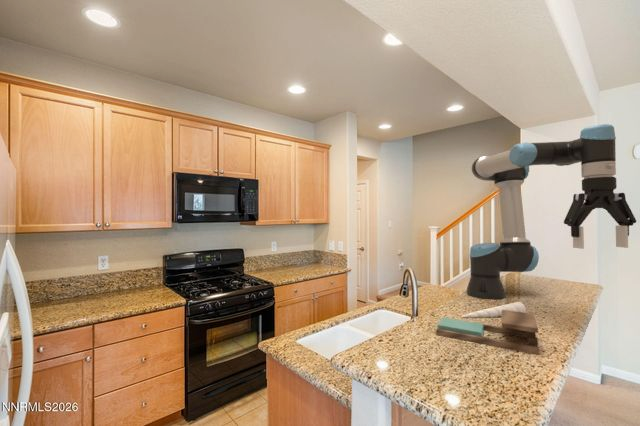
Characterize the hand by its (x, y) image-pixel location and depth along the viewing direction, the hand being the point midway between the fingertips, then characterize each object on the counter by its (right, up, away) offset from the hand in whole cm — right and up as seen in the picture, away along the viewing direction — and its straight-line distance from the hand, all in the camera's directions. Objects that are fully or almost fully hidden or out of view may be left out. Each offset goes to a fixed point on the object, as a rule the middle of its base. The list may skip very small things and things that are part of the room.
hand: (600, 247), depth 87 cm
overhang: (-35, -27, 0) cm, 44 cm away
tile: (-40, -27, +3) cm, 49 cm away
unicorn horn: (-22, -27, +17) cm, 38 cm away
